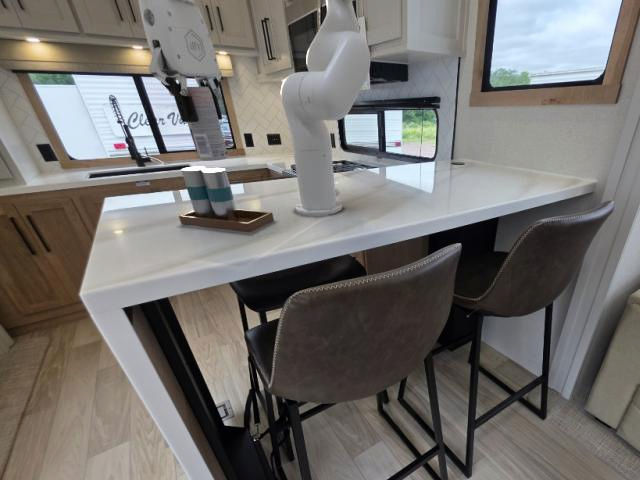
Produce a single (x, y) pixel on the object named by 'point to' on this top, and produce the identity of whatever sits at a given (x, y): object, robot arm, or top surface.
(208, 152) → the energy drink
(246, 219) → the drinks tray
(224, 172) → the can
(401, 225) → the top surface
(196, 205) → the can
